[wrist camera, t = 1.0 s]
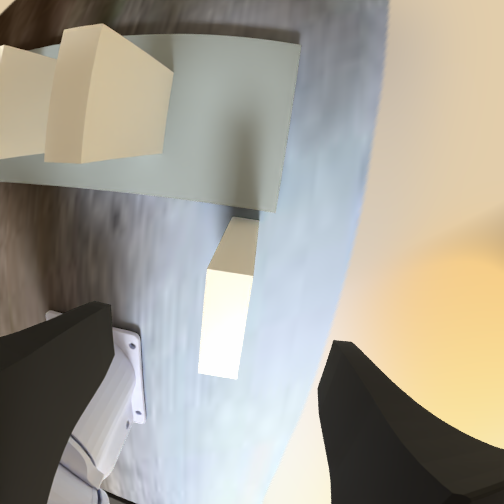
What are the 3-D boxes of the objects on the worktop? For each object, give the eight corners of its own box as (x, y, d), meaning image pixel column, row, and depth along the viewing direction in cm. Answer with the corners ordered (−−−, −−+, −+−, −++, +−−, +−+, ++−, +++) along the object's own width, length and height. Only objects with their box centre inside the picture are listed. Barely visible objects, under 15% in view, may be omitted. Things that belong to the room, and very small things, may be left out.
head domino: (248, 291, 19) (236, 379, 12) (223, 287, 19) (198, 372, 12) (259, 220, 18) (253, 276, 10) (232, 216, 18) (206, 268, 10)
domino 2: (162, 153, 16) (81, 163, 8) (136, 151, 16) (44, 162, 8) (173, 72, 14) (103, 23, 7) (147, 72, 14) (64, 29, 7)
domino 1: (89, 148, 16) (-12, 161, 8) (69, 148, 16) (-33, 161, 8) (99, 73, 14) (4, 44, 7) (78, 75, 14) (-19, 52, 7)
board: (275, 208, 18) (275, 212, 17) (-20, 177, 18) (-30, 180, 17) (299, 51, 15) (301, 44, 14) (-8, 64, 15) (-18, 63, 14)
